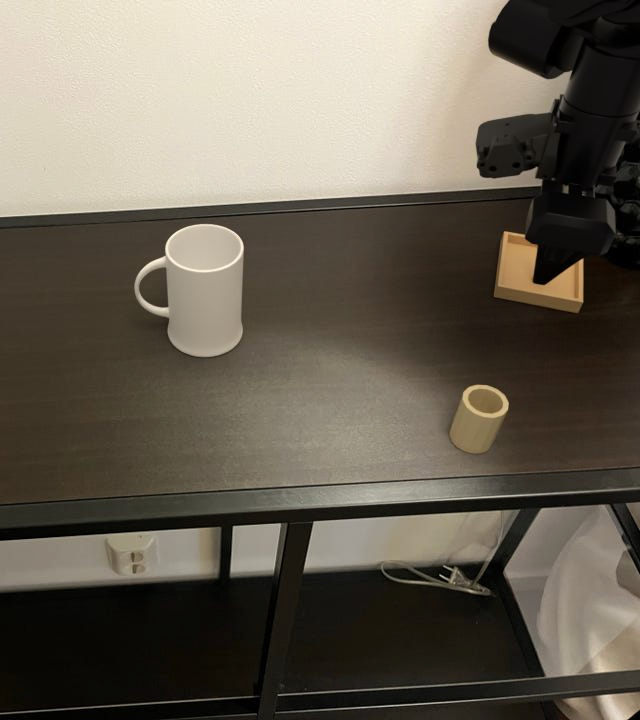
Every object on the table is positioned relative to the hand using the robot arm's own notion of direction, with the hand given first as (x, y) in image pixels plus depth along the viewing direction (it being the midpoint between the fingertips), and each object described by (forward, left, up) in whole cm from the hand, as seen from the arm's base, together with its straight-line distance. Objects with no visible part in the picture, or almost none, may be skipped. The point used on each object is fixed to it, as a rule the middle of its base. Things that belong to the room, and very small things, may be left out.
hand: (540, 253), depth 71 cm
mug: (+33, +8, -13) cm, 36 cm away
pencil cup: (+2, +13, -13) cm, 19 cm away
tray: (-3, -14, -13) cm, 19 cm away
